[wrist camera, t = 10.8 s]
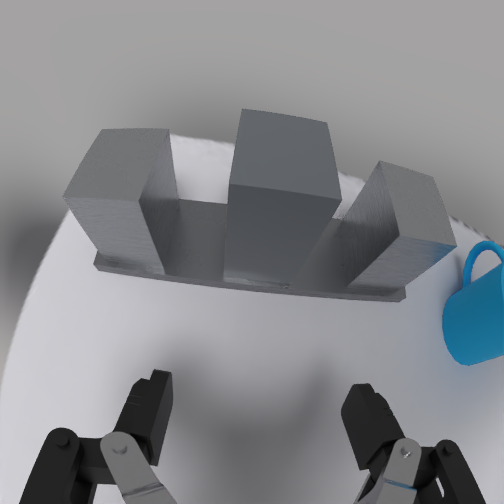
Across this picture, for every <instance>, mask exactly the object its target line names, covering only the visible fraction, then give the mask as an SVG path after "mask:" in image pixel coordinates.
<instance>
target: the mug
mask: <svg viewBox="0 0 504 504" xmlns="http://www.w3.org/2000/svg"><path fill="white" fill-rule="evenodd" d="M484 250H492V251H493V252H495V253H496V254H497V255H498V256H499V258H500V259H501V261H502V263H501V264H499V265H498V266H497V267H495V268H494V269H492V270H491V271H489V272H488V273H486V274H485V275H483V276H482V277H480V278H479V279H477V280H476V281H474V282H472V283H471V284H470V282H471V272H472V268H473V264H474V262H475V260H476V258H477V256H478V255H479V254H480V253H481V252H482V251H484ZM462 285H463V289H461V290H460V291H458V292H456V293H455V294H453V295H452V296H451V297H449V299H448V301H447V303H446V304H445V308H444V312H443V322H442V328H443V334H444V340H445V343H446V345H447V348H448V350H449V352H450V354H451V355H452V357H453V358H454V359H455V360H456V361H457V362H459V363H460V364H461V365H468V366H469V365H473V364H476V363H479V362H483V361H486V360H489V359H492V358H496V357H499V356H502V355H504V251H503V249H502V248H501V247H500V246H499V245H497V244H496V243H494V242H492V241H482V242H480V243H478V244H476V245H475V246H474V247H473V249H472V250H471V251H470V253H469V255H468V257H467V259H466V262H465V267H464V271H463V283H462Z"/></svg>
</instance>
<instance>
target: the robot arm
mask: <svg viewBox="0 0 504 504" xmlns="http://www.w3.org/2000/svg"><path fill="white" fill-rule="evenodd" d="M172 404H173V386H172V373H171V372H167V371H162V370H156V369H154V370H153V373H152V375H151V378H150V380H147V379H143V378H141V379H140V380H139V381H137V382H136V383H135V384H134V385H133V387H132V389H131V391H130V393H129V396H128V398H127V400H126V403H125V405H124V407H123V409H122V412H121V414H120V416H119V419H118V421H117V424H116V426H115V428H114V430H113V431H112V432H111V433H109V434H107V435H105V436H104V437H103V438H80V437H78V436H77V435H76V434H75V433H74V432H73V431H72V430H70V429H67V428H56V429H54V430H52V431H51V432H50V433H49V434H48V436H47V438H46V440H45V442H44V444H43V446H42V448H41V450H40V453H39V455H38V457H37V459H36V462H35V464H34V466H33V469H32V471H31V474H30V476H29V478H28V481H27V484H26V486H25V489H24V491H23V494H22V497H21V500H20V502H19V504H93V500H94V496H95V492H96V488H97V484H113V485H117V486H118V488H119V490H120V492H121V494H122V497H123V499H124V501H125V503H126V504H177V503H176V502H175V500H174V499H173V498H172V496H171V495H170V493H169V492H168V490H167V489H166V488H165V486H164V485H163V484H161V483H160V481H159V480H158V478H157V477H156V475H155V474H154V472H153V470H152V469H151V467H150V465H153V466H158V462H159V458H160V453H161V449H162V445H163V441H164V437H165V433H166V429H167V425H168V421H169V417H170V413H171V409H172ZM341 416H342V420H343V423H344V426H345V428H346V431H347V434H348V437H349V440H350V443H351V446H352V449H353V452H354V455H355V458H356V461H357V464H358V467H359V470H365V469H369V471H370V473H369V474H368V476H367V478H366V480H365V482H364V484H363V486H362V488H361V490H360V492H359V494H358V496H357V498H356V500H355V501H354V503H353V504H486V503H485V500H484V498H483V496H482V494H481V491H480V489H479V487H478V485H477V483H476V481H475V479H474V476H473V474H472V472H471V470H470V468H469V466H468V464H467V462H466V460H465V459H464V457H463V455H462V453H461V451H460V449H459V447H458V446H457V444H456V443H455V442H453V441H451V440H442V441H440V442H439V443H438V444H437V445H436V446H435V447H420V445H419V444H418V443H417V442H416V441H414V440H412V439H409V438H406V437H405V436H404V434H403V432H402V430H401V428H400V426H399V424H398V422H397V420H396V418H395V416H393V413H392V411H391V409H390V407H389V405H388V403H387V401H386V400H385V399H384V398H383V397H382V396H381V395H380V394H379V393H375V392H374V390H373V388H372V386H371V385H370V384H369V383H366V384H354V385H353V386H352V387H351V389H350V391H349V393H348V395H347V397H346V399H345V402H344V404H343V406H342V409H341ZM437 478H439V480H440V482H441V485H442V487H443V490H444V497H442V494H441V492H440V489H439V487H438V484H437V482H436V479H437Z"/></svg>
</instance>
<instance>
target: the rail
mask: <svg viewBox="0 0 504 504" xmlns="http://www.w3.org/2000/svg"><path fill="white" fill-rule="evenodd" d="M63 199H64V200H65V202H66V204H67V205H68V207H69V208H70V210H71V211H72V213H73V215H74V216H75V218H76V219H77V221H78V222H79V224H80V225H81V227H82V228H83V230H84V231H85V233H86V234H87V235H88V237H89V238H90V240H91V241H92V243H93V244H94V245H95V247H96V248H97V250H98V251H97V254H96V257H95V260H94V263H93V265H94V266H95V267H96V268H97V269H98V270H99V271H104V272H111V273H117V274H123V275H130V276H137V277H143V278H150V279H157V280H164V281H172V282H179V283H187V284H195V285H203V286H211V287H220V288H228V289H237V290H247V291H256V292H266V293H277V294H287V295H299V296H310V297H323V298H337V299H351V300H367V301H385V302H400V301H402V300H403V299H405V298H406V293H405V286H406V285H407V284H408V283H410V282H411V281H413V280H414V279H415V278H417V277H418V276H419V275H421V274H422V273H424V272H425V271H426V270H428V269H429V268H430V267H432V266H433V265H434V264H435V263H437V262H438V261H439V260H441V259H442V258H443V257H444V256H446V255H447V254H448V253H449V252H451V251H452V250H453V249H454V248H456V247H457V244H456V241H455V237H454V234H453V231H452V228H451V225H450V222H449V219H448V216H447V213H446V210H445V208H444V204H443V202H442V199H441V196H440V194H439V191H438V189H437V186H436V184H435V181H434V179H433V177H431V176H428V175H425V174H422V173H419V172H416V171H413V170H410V169H407V168H403V167H400V166H397V165H393V164H390V163H386V162H383V161H379V162H378V164H377V165H376V167H375V169H374V170H373V172H372V174H371V175H370V177H369V179H368V180H367V182H366V184H365V185H364V187H363V188H362V190H361V192H360V193H359V195H358V196H357V198H356V200H355V201H354V203H353V204H352V206H351V208H350V209H349V211H348V212H347V214H346V215H345V217H344V218H343V220H340V219H333V218H331V220H330V221H329V223H328V225H327V227H326V228H325V230H324V232H323V233H322V235H321V237H320V238H319V240H318V241H317V243H316V245H315V246H314V248H313V250H312V251H311V253H310V255H309V256H308V258H307V259H306V261H305V263H304V264H303V266H302V267H301V269H300V271H299V272H298V274H297V275H296V277H295V278H294V280H293V282H292V283H291V284H288V283H278V282H268V281H258V280H248V279H239V278H230V277H224V259H225V239H226V222H227V205H228V204H221V203H211V202H202V201H191V200H181V199H179V198H178V192H177V186H176V179H175V172H174V165H173V158H172V150H171V142H170V134H169V129H146V128H145V129H141V128H139V129H137V128H136V129H135V128H134V129H102V130H101V132H100V133H99V135H98V136H97V138H96V139H95V141H94V142H93V144H92V145H91V147H90V149H89V150H88V152H87V154H86V155H85V157H84V159H83V160H82V162H81V164H80V165H79V167H78V169H77V171H76V172H75V174H74V176H73V178H72V180H71V181H70V183H69V185H68V187H67V189H66V191H65V193H64V195H63Z"/></svg>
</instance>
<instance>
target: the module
mask: <svg viewBox="0 0 504 504" xmlns="http://www.w3.org/2000/svg"><path fill="white" fill-rule="evenodd" d="M341 201H342V196H341V190H340V184H339V178H338V173H337V168H336V162H335V158H334V153H333V148H332V143H331V138H330V134H329V129H328V126H327V123H326V122H321V121H317V120H312V119H307V118H302V117H296V116H290V115H284V114H278V113H272V112H264V111H257V110H248V109H242V112H241V117H240V123H239V128H238V133H237V140H236V145H235V150H234V156H233V162H232V168H231V174H230V180H229V190H228V205H227V222H226V239H225V259H224V277H230V278H239V279H248V280H258V281H268V282H278V283H288V284H291V283H292V282H293V280H294V278H295V277H296V275H297V274H298V272H299V271H300V269H301V267H302V266H303V264H304V263H305V261H306V259H307V258H308V256H309V255H310V253H311V251H312V250H313V248H314V246H315V245H316V243H317V241H318V240H319V238H320V237H321V235H322V233H323V232H324V230H325V228H326V227H327V225H328V223H329V221H330V220H331V218H332V216H333V215H334V213H335V211H336V210H337V208H338V206H339V204H340V203H341Z"/></svg>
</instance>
